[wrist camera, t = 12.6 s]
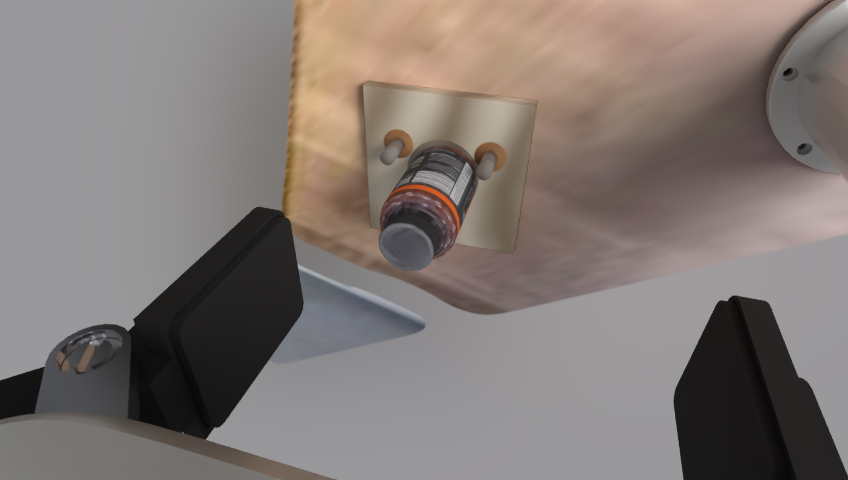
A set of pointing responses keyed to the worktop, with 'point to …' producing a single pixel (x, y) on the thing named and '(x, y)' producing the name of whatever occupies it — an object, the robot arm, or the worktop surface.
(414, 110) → the pin board
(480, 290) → the worktop surface
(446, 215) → the supplement bottle
